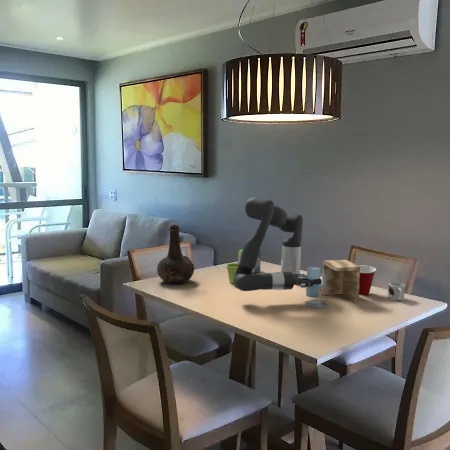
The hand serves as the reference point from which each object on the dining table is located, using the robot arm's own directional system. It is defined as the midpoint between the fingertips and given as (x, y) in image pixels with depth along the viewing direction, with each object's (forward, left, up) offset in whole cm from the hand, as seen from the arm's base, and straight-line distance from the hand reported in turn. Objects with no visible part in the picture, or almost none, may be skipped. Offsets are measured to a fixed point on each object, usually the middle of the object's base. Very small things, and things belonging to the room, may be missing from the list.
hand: (318, 279), depth 213 cm
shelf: (+11, +5, -9) cm, 15 cm away
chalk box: (-27, +53, -9) cm, 60 cm away
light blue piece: (-1, 0, -7) cm, 7 cm away
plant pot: (-35, +29, -9) cm, 46 cm away
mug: (+35, +2, -9) cm, 37 cm away
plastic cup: (+23, +12, -9) cm, 27 cm away
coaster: (-1, -7, -9) cm, 12 cm away
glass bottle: (-64, +30, -9) cm, 71 cm away
